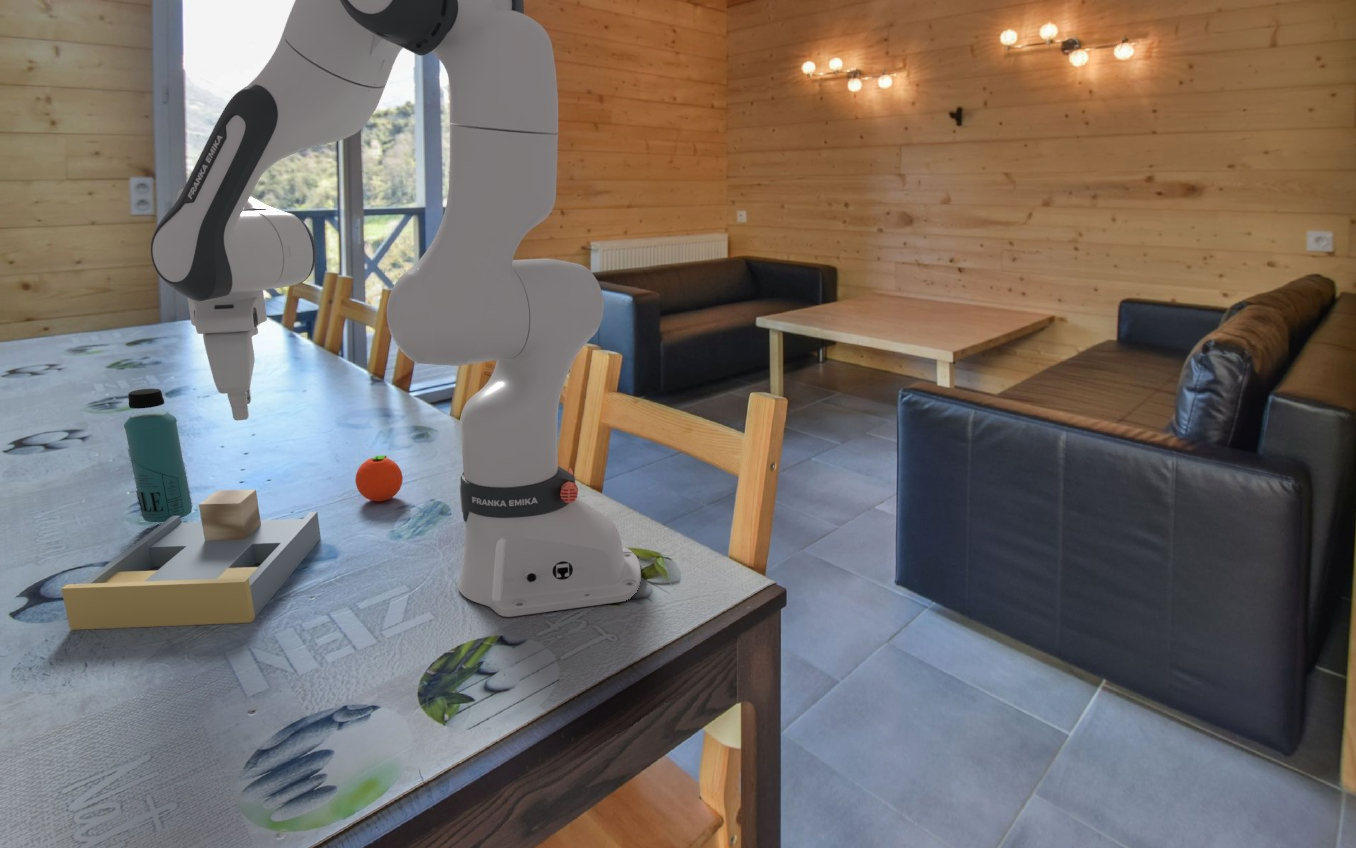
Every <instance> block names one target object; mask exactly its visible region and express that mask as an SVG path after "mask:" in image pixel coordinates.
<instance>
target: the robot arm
mask: <svg viewBox="0 0 1356 848" xmlns="http://www.w3.org/2000/svg"><path fill="white" fill-rule="evenodd" d="M402 49H405V50H407V51H409V52H411V53H413V54H415V55H417V56H425V55H427V54H429V53H432V54H433V55H434V56H436V58H437V59H438V60H439V61H440V63H442V66H444V69H445V71H446V73H447V77H448V82H449V90H450V91H449V92H450V96H449V97H450V103H449V104H450V105H449V106H450V107H449V108H450V109H449V113H450V115H449V123H450V124H449V126H450V127H449V130H450V132H449V133H450V134H449V143H450V144H449V172H448V173H449V174H448V177H449V178H448V191H447V192H448V193H447V199H446V205H445V209H444V212H443V213H444V214H443V216H442V219H441V222H440V225H439V227H438V229H437V232H436V234H435V235H434V237H433V240H432V241H431V243H430V245H429V246H428V248H427V250H426V251H424V254H422V256H421V258H419V259H418V261H417V262H416V263H415V264H414V265H413V266H412V267H411V268H410V269H408V270H407V271H406V272H405V273H404V274H402V275H401V276H399V278H398V279H397V280H396V282H395V283H394V284H393V287H392V288H391V291H390V293H389V296H388V300H387V306H386V321H387V327H388V330H389V333H390V335H391V338H392V340H393V341H394V342H393V343H395V345H396V346H397V347H398V348H399V350H400V351H401V352H402V353H403V354H404V355H405V357H407V358H408V359H409V360H411V361H412V362H413V363H416V364H421V365H422V364H423V365H433V366H452V367H453V366H454V367H460V366H465V365H474V364H480V363H486V362H492V361H493V362H494V361H496V363H495V366H494V369H493V372H492V374H491V376H490V378H489V379H488V380H487V382H486V384H485V385H484V386H483V387H482V388H480V390H478V391H477V392H476V393H475V394H474V395H472V396H471V397H470V398H469V399H468V400H467V402H466V403H465V404H464V407H463V409H462V411H461V415H460V417H459V418H460V419H459V426H460V428H459V429H460V440H461V441H460V442H461V455H462V469H463V472H462V475H461V476H460V477H459V478H460V483H459V496H460V497H459V498H460V507H461V513H462V518H463V522H464V523H465V525H464V527H465V529H464V544H463V545H464V546H463V554H462V561H461V568H460V572H459V576H458V580H457V589H458V590H459V592H460V594H461V595H462V596H464V597H465V598H466V599H468V600H470V601H472V602H475V603H477V604H480V605H484V606H486V607H489V608H490V609H492V611H494V612H495V613H497V615H499V616H502V617H504V618H505V617H506V618H511V617H518V616H525V615H533V614H541V613H548V612H554V611H562V610H570V609H577V608H585V607H592V606H601V605H606V604H613V603H615V604H616V603H621V602H626V600H627V601H629V600H630V599H631V597H632V596H633V595H634V594H635V593H638V591H639V589H640V587H639V585H640V586H641V584H640V582H641V583H642V572H641V571H642V570H641V569H642V568H641V564H640V560H639V558H638V557H637V555H636V554H635V553H634V552H633V551H632V550H631V549H630V548H628V547H625V546H623V544H622V539H621V536H620V533H619V531H618V529H617V526H616V524H615V523H614V521H613V520H612V518H610V517H609V516H608V515H606V514H604V513H602V512H601V511H600V510H597V509H596V508H595V507H593V506H591V505H590V504H589V503H586V501H583V500H582V499H581V498H578V495H579V493H578V492H579V488H578V485H577V484H576V477H575V475H574V472H573V469H572V468H571V467H569V469H568V471H567V469H566V470H565V469H564V468H562V467H560V466H559V464H558V416H559V415H558V413H559V405H560V399H561V394H562V391H563V388H564V385H565V382H566V380H567V377H568V375H569V372H570V370H571V368H572V366H573V363H574V361H575V359H576V358H577V356H578V355H579V353H580V352H581V351H582V349H583V348H584V346H585V345H586V344H587V343H588V342H589V341H590V340H591V338H593V337H594V336H595V334H596V333H597V332H598V331H599V328H600V326H601V324H602V320H603V318H604V317H603V316H604V308H605V307H604V306H605V305H604V304H605V303H604V296H603V292H602V289H601V285H600V283H599V282H598V279H597V278H596V277H595V274H593V272H592V271H591V270H590V269H589V268H588V267H586V266H584V265H583V264H579V263H574V262H571V261H566V260H560V259H556V258H555V259H553V258H549V257H548V258H528V259H514V257H515V255H516V252H517V249H518V248H519V245H521V242H522V241H523V239H524V238H525V236H526V235H527V234H528V233H529V232H530V231H531V230H532V229H534V228H535V227H536V226H539V225H540V224H541V223H542V222H544V221H545V220H546V219H547V218H549V216H550V214H551V213H552V211H553V210H554V206H555V203H556V199H557V179H558V177H557V175H558V150H559V149H558V147H559V146H558V144H559V142H558V141H559V96H558V95H559V93H558V82H557V81H558V80H557V72H556V63H555V56H554V50H553V44H552V41H551V38H550V36H549V33H548V32H547V30H546V29H545V28H544V26H542V25H541V23H539V22H537V21H536V20H534V18H532V17H530V16H529V15H527V14H525V4H524V0H294V2H293V5H292V7H291V9H290V13H289V15H288V18H287V21H286V22H285V26H284V28H283V31H282V34H281V37H280V40H279V41H278V45H277V46H276V48H275V50H274V52H273V54H272V55H271V57H270V59H269V60H268V61H267V63H266V65H265V66H264V67H263V68H262V69H261V71H260V72H259V73H258V75H257V76H255V78H254V79H253V80H252V81H251V82H250V83H249V84H248V85H246V86H245V87H243V88H242V89H240V90H239V91H237V92H236V93H235V94H234V95H233V96H232V97H231V99H230V100H229V101H228V103H226V105H225V107H224V109H223V110H222V112H221V114H220V116H219V117H218V119H217V121H216V124H215V125H214V127H213V129H212V132H211V133H210V135H209V137H208V139H207V141H206V143H205V145H204V147H203V150H202V151H201V152H200V155H199V157H198V159H197V161H196V163H195V165H194V167H193V169H192V171H191V174H190V175H189V177H188V179H187V181H186V183H185V186H183V187H182V188H181V189H179V191H178V192H177V195H176V202H175V203H174V204H173V205H172V207H171V208H169V210H168V211H167V213H166V214H165V215H164V216H163V217H162V219H161V220H160V221H159V223H158V225H157V226H156V228H155V230H154V233H153V235H152V239H151V242H150V257H151V261H152V264H153V267H154V269H155V271H156V273H157V274H158V276H159V277H160V278H161V279H162V280H163V282H165V283H166V284H167V285H168V286H169V287H170V288H172V289H173V290H175V292H177V293H179V294H181V295H182V296H184V297H186V298H187V303H188V311H189V312H188V313H189V317H190V323H191V324H190V325H192V326H194V328H195V330H196V334H199V335H202V339H203V344H204V348H205V351H206V356H207V360H208V363H209V368H210V371H211V374H212V379H213V381H214V384H215V387H216V389H217V392H218V393H220V394H226V395H227V398H228V401H229V406H230V408H231V413H232V419H233V420H234V421H244V420H245V421H246V420H248V418H249V416H250V414H249V406H248V405H249V404H250V403H251V401H252V394H251V382H252V380H253V379H252V377H253V372H254V366H255V353H254V345H253V344H254V343H253V336H256V335H258V334H259V329H258V327H259V325H261V324H263V323H264V322H266V321H267V320H268V318H267V310H266V309H267V308H266V304H265V303H266V302H265V294H264V291H267V290H271V289H272V290H273V289H279V288H280V289H282V288H288V287H293V286H296V285H298V284H302V283H303V282H306V280H307V279H309V277H310V276H311V274H312V273H313V271H314V269H315V265H316V259H317V248H316V243H315V238H314V236H313V233H312V232H311V230H310V228H309V227H308V225H307V224H306V222H304V221H303V219H301V218H300V217H299V216H297V215H296V214H294V213H291V212H287V211H286V212H285V211H283V210H280V209H278V208H275V207H272V206H270V205H268V204H265V203H263V202H261V201H260V200H258V199H256V198H255V197H253V196H252V194H253V192H254V190H255V188H256V186H257V185H258V182H259V180H260V179H261V177H262V176H263V174H264V173H265V172H266V171H268V170H269V169H270V167H272V166H273V165H274V164H276V163H277V162H279V161H281V160H282V159H285V158H287V157H289V156H291V155H294V154H296V153H298V152H302V151H305V150H308V149H311V148H315V147H318V146H322V145H323V146H324V145H327V144H331V143H335V142H340V141H342V140H345V139H348V138H349V137H351V136H353V135H355V134H357V133H358V132H360V131H361V130H362V129H363V127H365V126H366V125H367V123H368V121H369V120H370V119H371V117H372V116H373V114H374V113H375V111H376V109H377V108H378V105H379V103H380V100H381V98H382V96H383V93H384V90H385V88H386V85H387V82H388V81H389V78H390V75H391V72H392V69H393V66H394V64H395V62H396V60H397V58H398V55H399V54H400V52H401V51H402ZM638 588H639V589H638ZM637 590H638V591H637ZM635 595H636V594H635ZM635 595H634V596H635ZM634 596H633V597H634ZM633 597H632V598H633ZM628 599H629V600H628Z"/></svg>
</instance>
